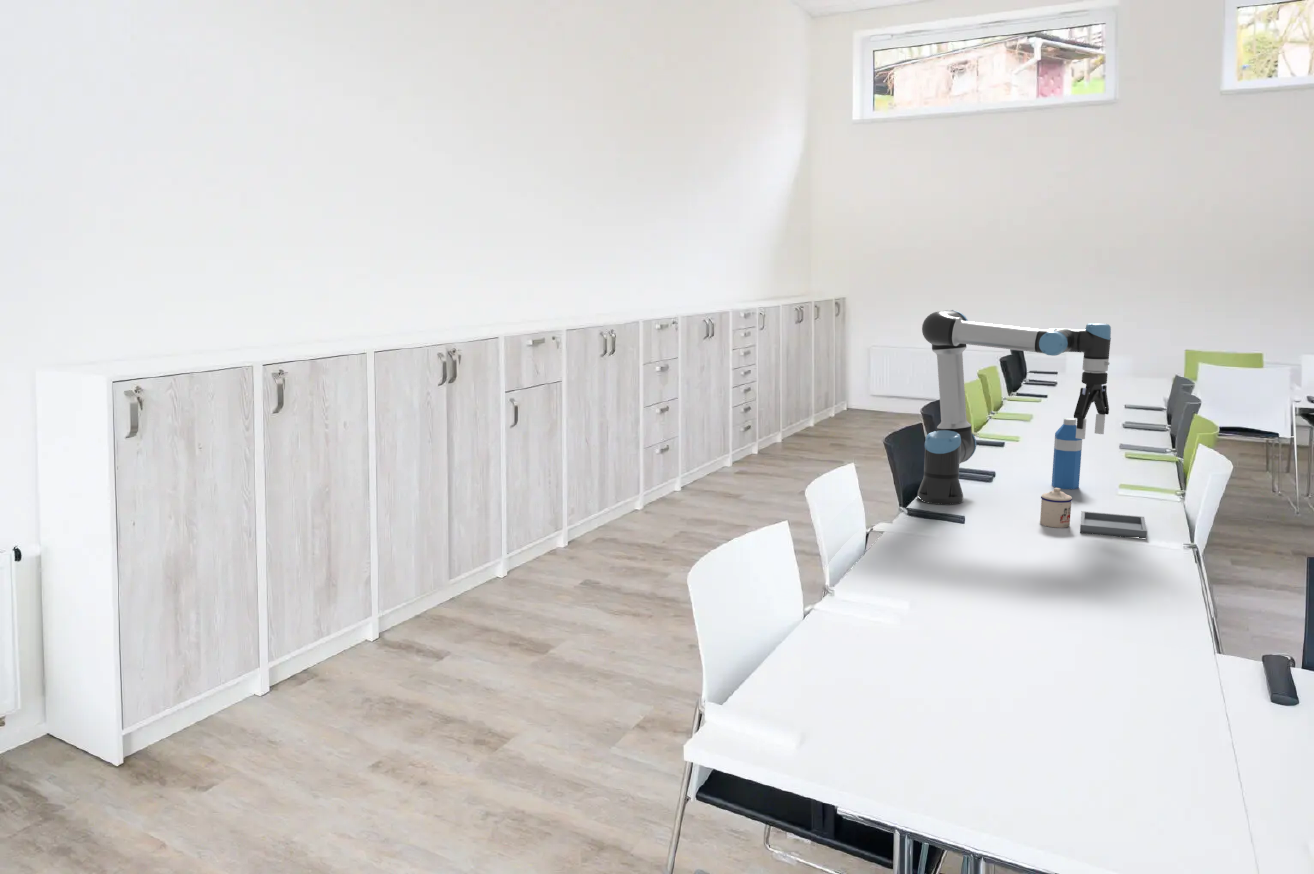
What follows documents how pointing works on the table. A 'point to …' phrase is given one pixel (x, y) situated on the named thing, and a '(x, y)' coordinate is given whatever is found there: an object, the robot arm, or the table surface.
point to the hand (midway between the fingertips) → (1089, 436)
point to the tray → (1112, 525)
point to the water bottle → (1066, 456)
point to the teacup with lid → (1055, 509)
